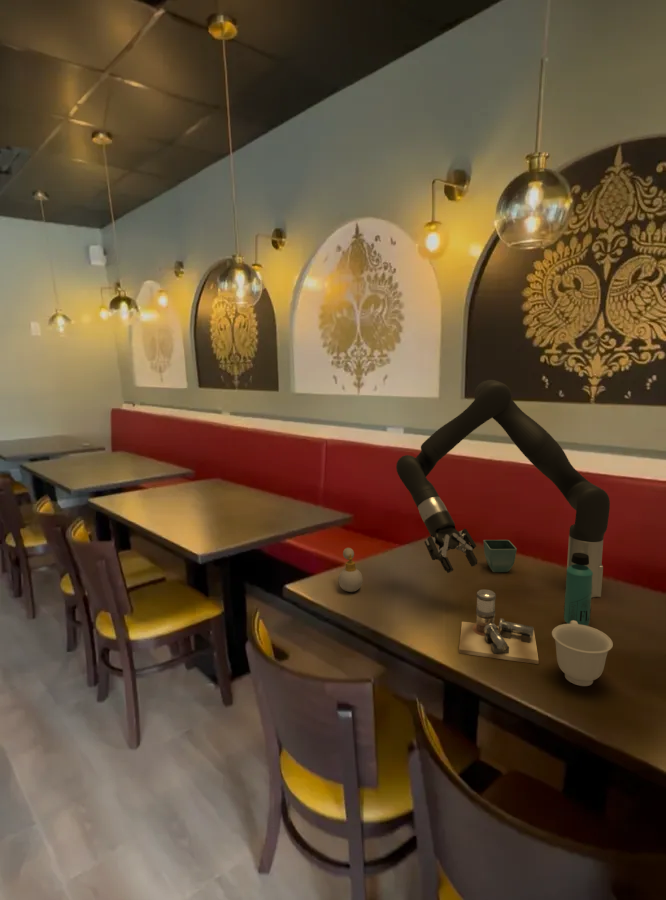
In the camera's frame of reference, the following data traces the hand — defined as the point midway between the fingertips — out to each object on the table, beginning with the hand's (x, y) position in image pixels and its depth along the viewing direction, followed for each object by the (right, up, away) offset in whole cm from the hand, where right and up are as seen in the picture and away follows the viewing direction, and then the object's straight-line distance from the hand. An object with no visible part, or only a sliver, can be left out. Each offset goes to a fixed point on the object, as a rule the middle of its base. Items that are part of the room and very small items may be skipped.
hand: (462, 568), depth 140 cm
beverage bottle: (+29, -15, -2) cm, 33 cm away
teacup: (+20, -19, -23) cm, 36 cm away
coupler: (+4, -15, -5) cm, 16 cm away
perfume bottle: (-30, -12, +23) cm, 39 cm away
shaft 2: (+11, -15, -9) cm, 21 cm away
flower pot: (+21, -9, +35) cm, 42 cm away
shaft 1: (+5, -16, -13) cm, 21 cm away
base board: (+6, -16, -10) cm, 20 cm away
